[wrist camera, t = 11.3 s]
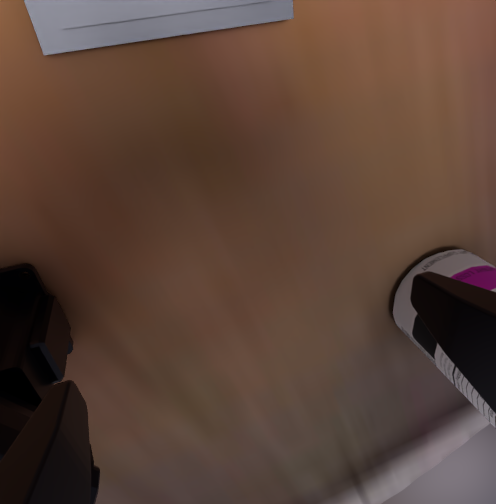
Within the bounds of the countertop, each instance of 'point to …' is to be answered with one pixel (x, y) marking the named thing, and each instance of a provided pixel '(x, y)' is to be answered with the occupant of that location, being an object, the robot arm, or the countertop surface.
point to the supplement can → (407, 319)
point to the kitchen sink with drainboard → (141, 19)
